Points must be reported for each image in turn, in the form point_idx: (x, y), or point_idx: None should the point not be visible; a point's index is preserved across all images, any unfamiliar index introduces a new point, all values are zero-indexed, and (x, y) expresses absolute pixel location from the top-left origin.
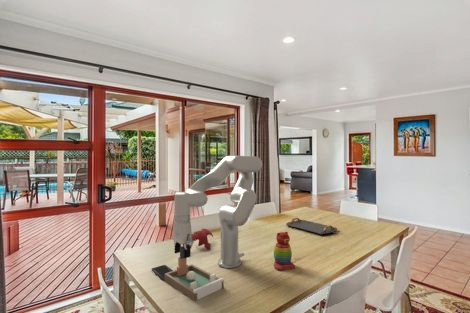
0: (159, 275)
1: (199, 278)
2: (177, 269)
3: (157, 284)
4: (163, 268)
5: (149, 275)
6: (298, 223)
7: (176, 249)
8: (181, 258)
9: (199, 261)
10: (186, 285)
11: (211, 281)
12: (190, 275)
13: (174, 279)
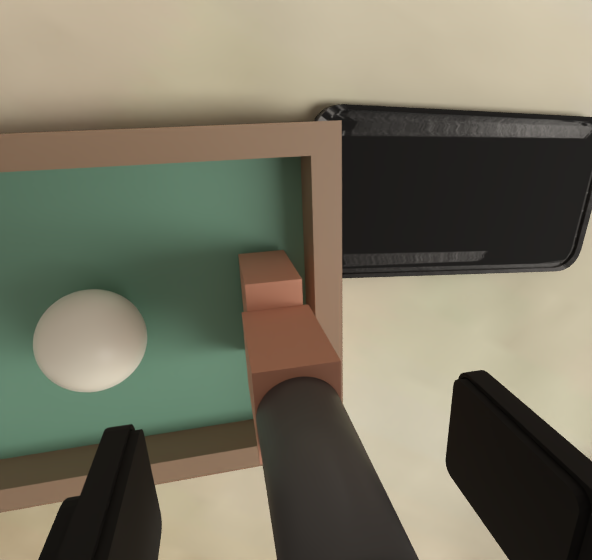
0: (430, 119)
1: (89, 396)
2: (278, 271)
3: (285, 11)
4: (525, 224)
5: (521, 49)
6: None
7: (500, 441)
8: (271, 387)
9: (418, 512)
10: (10, 230)
11: None
12: (38, 328)
13: (112, 142)
